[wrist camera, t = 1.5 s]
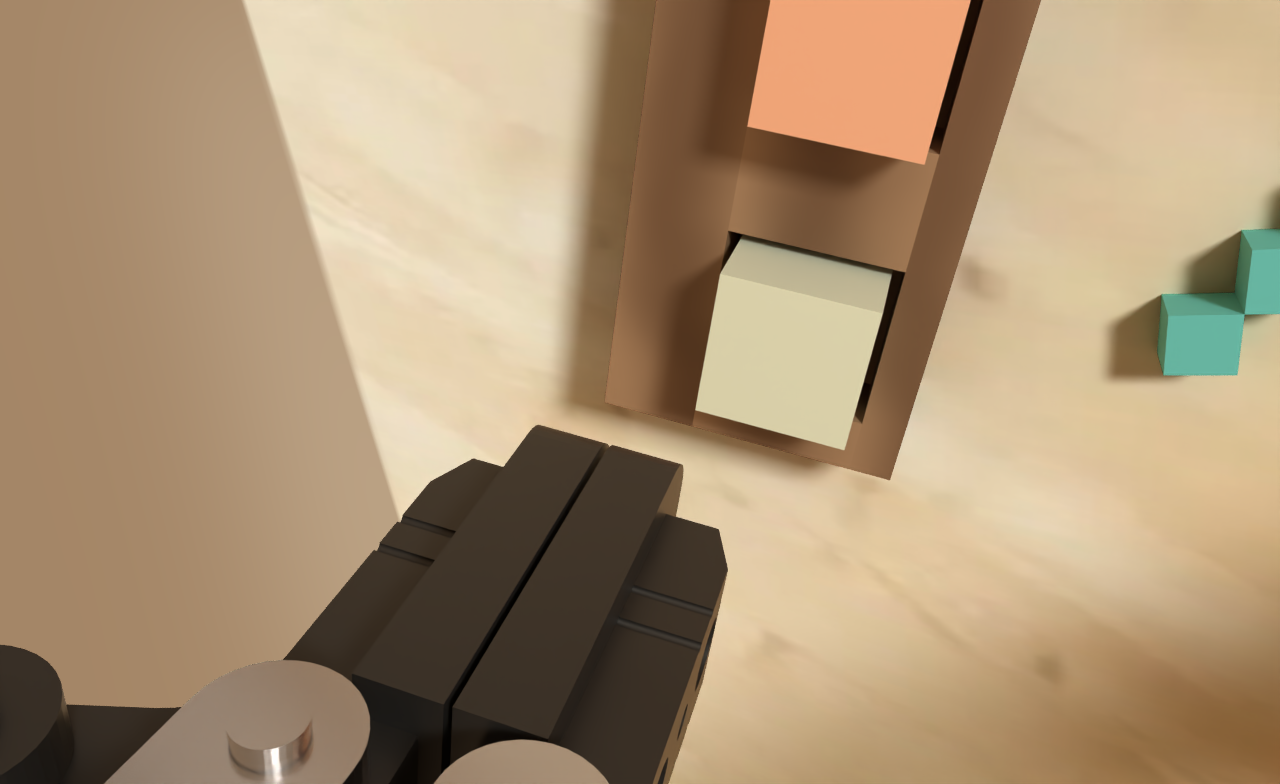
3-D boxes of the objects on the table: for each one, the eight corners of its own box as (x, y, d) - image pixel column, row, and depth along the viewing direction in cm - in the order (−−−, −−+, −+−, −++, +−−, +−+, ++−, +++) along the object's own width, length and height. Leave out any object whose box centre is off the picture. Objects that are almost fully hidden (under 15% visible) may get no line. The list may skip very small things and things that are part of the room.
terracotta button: (981, -48, 30) (978, -28, 27) (932, 126, 33) (924, 164, 30) (805, -79, 31) (781, -64, 28) (772, 93, 34) (747, 126, 31)
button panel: (1212, -586, 26) (1245, -646, 22) (899, 424, 41) (889, 485, 38) (774, -623, 28) (740, -684, 24) (634, 355, 43) (602, 406, 40)
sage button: (894, 264, 36) (883, 313, 32) (858, 393, 38) (844, 450, 35) (745, 229, 37) (720, 273, 33) (721, 357, 39) (695, 410, 36)
